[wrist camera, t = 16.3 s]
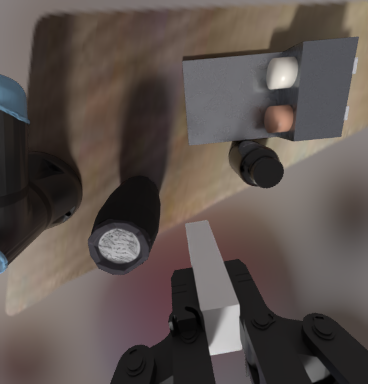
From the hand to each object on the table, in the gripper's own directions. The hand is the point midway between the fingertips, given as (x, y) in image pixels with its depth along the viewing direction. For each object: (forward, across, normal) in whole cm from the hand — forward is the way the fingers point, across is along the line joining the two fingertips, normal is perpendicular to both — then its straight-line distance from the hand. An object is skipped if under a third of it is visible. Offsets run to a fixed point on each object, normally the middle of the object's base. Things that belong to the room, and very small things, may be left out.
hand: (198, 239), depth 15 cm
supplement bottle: (+30, +14, -3) cm, 33 cm away
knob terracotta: (+27, +23, +4) cm, 36 cm away
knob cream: (+28, +24, +11) cm, 38 cm away
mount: (+30, +16, +7) cm, 34 cm away
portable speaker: (+30, -9, -8) cm, 32 cm away
